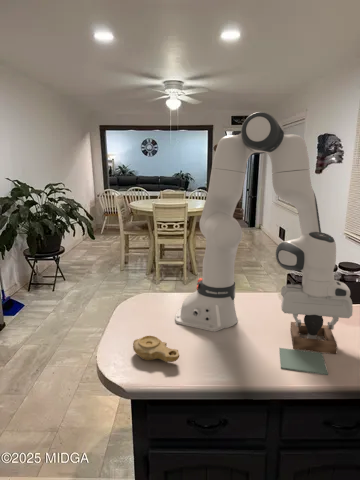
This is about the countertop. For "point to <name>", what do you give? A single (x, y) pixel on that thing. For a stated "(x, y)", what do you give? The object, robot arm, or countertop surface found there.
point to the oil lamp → (154, 349)
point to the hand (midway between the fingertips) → (314, 327)
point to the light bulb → (313, 325)
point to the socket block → (313, 344)
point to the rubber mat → (302, 361)
